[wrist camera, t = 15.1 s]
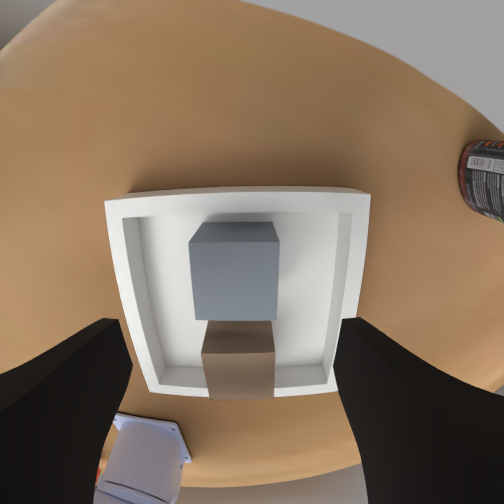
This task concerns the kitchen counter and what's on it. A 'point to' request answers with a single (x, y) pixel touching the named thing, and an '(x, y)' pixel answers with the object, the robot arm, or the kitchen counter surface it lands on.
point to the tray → (289, 283)
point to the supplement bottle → (483, 178)
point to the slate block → (235, 271)
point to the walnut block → (239, 360)
